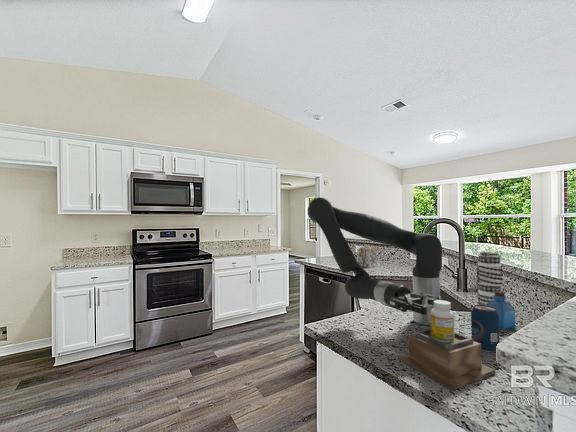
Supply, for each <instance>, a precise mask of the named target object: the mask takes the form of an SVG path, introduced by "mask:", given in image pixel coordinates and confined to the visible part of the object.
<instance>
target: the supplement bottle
mask: <svg viewBox="0 0 576 432" xmlns="http://www.w3.org/2000/svg"><path fill="white" fill-rule="evenodd" d="M434 307H435V308H434V309H432V310H431V326H430V328H431V337H432V338H434V339H436V340H438V341H441V342H443V343H452V342H454V332H455V314H454V312H453V311H452V310H451V309H452V303H451V302H450V301H447V300H443V299H441V300H435V301H434Z"/></svg>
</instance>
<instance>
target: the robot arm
mask: <svg viewBox="0 0 576 432" xmlns="http://www.w3.org/2000/svg"><path fill="white" fill-rule="evenodd" d="M307 216H308V218H309V219H310V220H311V221H312V222H314V223H316V224H318V226H319V228H320V229H321V230H322V233H323V234H324V237H325V239H326V241H327V242H328V246H329V249H330V251H331V253H332V255H333V258H334V260H335V263H336V264H337V266H338V268H339V269H340V271H341V272H342V273H344V274H346V273H351V272H352V273H353V274H354V276H351V278H349V279H347V280H346V281H345V283H344V290H345V292H346V293H347V294H348V296H349V297H352V298H354V299H357V300H358V299H359V300H373V301H376V302H377V303H380V304H382V305H384V306H387V307H390V308H392V309H395V310H398V311H400V312H403V313H407V312H410V313H412V320H413V322H415V323H417V324H419V325H424V326H430V327H431V310H432V309H434V308H435V307H434V301H435V300H442V296H441V292H440V291H441V289H440V288H441V287H440V285H441V284H440V283H441V282H440V274H441V270H442V268H443V267H442V266H443V263H442V262H443V247H442V242H441V240H440V238H438V236H436V235H435V234H431V233H422V232H415V231H410V230H407V229H403V228H401V227H398V226H397V225H394V224H393V223H391V222H389V221H387V220H385V219H382V218H380V217H377V216H374V215H370V214H367V213H363V212H355V211H350V210H349V211H348V210H343V209H341V208H338V207H336V206H333V205H332V203H331V202H330V201H329V199H327V198H325V197H316V198H314V199H313V200H311V202H310V203H309V206H308V207H307ZM342 230H343V231H346V232H348V233H350V234H353V235H355V236H358V237H360V238H363V239H366V240H368V241H372V242H375V243H378V244H383V245H389V246H394V247H397V248H399V249H402V250H404V251H407V252H408V253H411V254H413V255H415V256H416V257H415V266H414V267H412V271H411V272H412V292H411V290H410V288H408V287H407V286H405V285H402V284H398V283H394V282H390V281H383V280H379V279H375V278H372V276H371V275H370V274H369V273H368V271H366V270H365V269H364V267H362V266H361V265H360V264H359V263H358V259H357V258H356V256H355V255H354V252H353V251H352V248H351V247H350V244H349V243H348V242H347V240H346V237H345V236H344V234H343V232H342Z"/></svg>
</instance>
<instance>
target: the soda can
mask: <svg viewBox="0 0 576 432" xmlns="http://www.w3.org/2000/svg"><path fill="white" fill-rule="evenodd" d="M472 306H473V307H472V309H471V310H470V323H471V326H470V327H471V330H470V331H471V332H470V333H471V336H470V338H472V339H473V341H475V342H478V343H480V344H481V352H482V351H483V352H488V353H494V352H495V351H496V346H497V344H498V343H499V342H500V328H499V314H498V313H497V311H496V308H494V307H491V306H486V305H479V304H474V305H472ZM500 343H501V342H500ZM496 352H497V351H496Z"/></svg>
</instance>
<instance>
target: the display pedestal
mask: <svg viewBox="0 0 576 432" xmlns="http://www.w3.org/2000/svg"><path fill="white" fill-rule="evenodd" d="M407 336H408V352H406V353H402V354H398V355H397V360H399V361H400V362H402V363H404V364H406V365H407V366H409V367H411V368H412V369H414V370H416V371H418V372H419V373H421V374H423V375H425V376H426V377H428V378H430V379H432V380H433V381H435V382H437V383H438V384H440V385H443V386H444V387H446V388H447V389H449V390H451V391H454V390H456V389H460V388H462V387H465V386H467V385H469V384H473V383H475V382H478V381H479V380H483V379H485V378H488V377H491V376H493V374H494V375H495V374H496V370H495V369H494V368H491V367H489V366H487V365H485V364H483V363H482V360H483V359H482V350H481V344H480V343H478V342H475V341H473V339H472V338H471V337H470V336H466V335H463V334H461V333H459V332H455V331H454V342H452V343H443V342H441V341H438V340H436V339H434V338H432V337H431V327H430V328H427V329H426V328H425V329H424V330H417V331H415V332H414V333H411V334H408V335H407Z"/></svg>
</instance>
